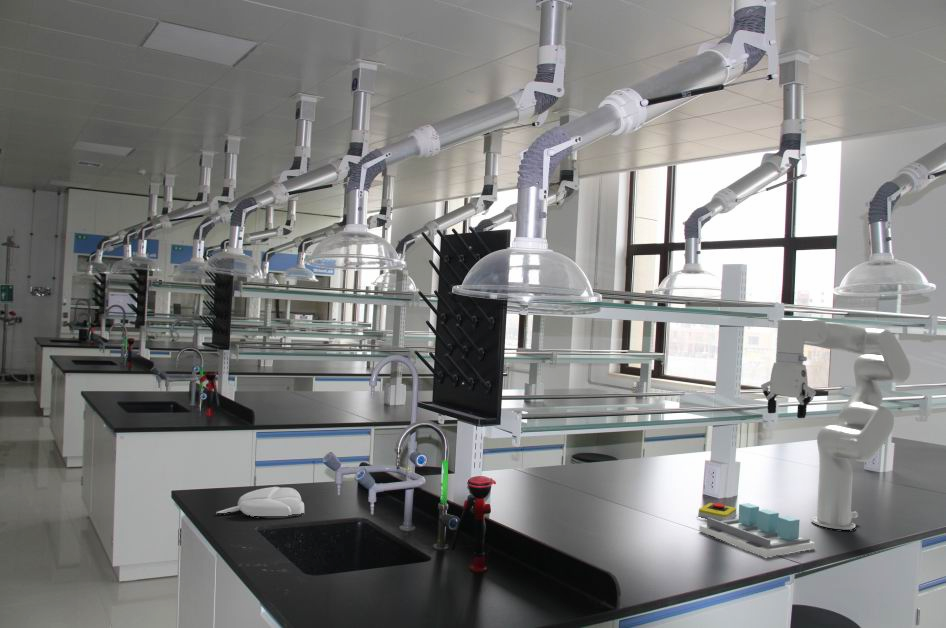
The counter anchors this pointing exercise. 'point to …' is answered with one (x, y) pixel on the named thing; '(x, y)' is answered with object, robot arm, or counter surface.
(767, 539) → the white ridged tray
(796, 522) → the teal rectangular block
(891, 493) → the counter surface
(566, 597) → the counter surface
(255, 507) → the white computer mouse
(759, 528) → the light teal block
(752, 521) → the teal rectangular block
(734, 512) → the emergency button
